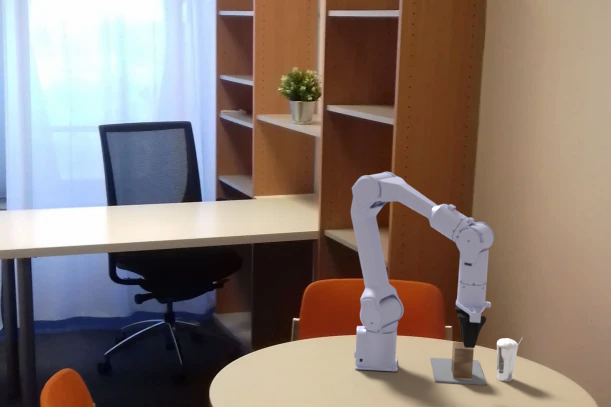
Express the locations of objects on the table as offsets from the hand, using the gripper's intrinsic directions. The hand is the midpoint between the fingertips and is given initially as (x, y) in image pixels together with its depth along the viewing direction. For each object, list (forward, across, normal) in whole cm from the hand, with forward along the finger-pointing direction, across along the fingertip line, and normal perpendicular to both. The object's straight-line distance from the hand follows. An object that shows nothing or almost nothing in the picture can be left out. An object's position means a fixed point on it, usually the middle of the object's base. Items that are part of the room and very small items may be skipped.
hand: (468, 344), depth 154 cm
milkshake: (+11, +8, -10) cm, 16 cm away
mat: (+10, +10, 0) cm, 14 cm away
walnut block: (+10, +7, 0) cm, 12 cm away
